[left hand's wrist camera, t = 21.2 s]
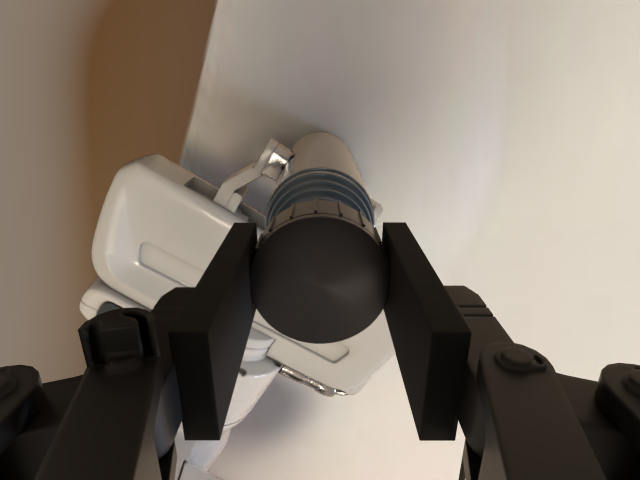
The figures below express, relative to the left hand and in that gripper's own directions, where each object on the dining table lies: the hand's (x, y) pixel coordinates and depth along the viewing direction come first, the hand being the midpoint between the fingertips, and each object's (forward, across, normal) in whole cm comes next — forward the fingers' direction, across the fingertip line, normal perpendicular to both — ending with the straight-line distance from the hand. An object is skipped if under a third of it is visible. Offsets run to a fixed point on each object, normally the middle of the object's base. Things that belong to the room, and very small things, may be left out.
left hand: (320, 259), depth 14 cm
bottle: (+17, 0, 0) cm, 17 cm away
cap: (-2, 0, 0) cm, 2 cm away
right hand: (+11, 0, -1) cm, 11 cm away
